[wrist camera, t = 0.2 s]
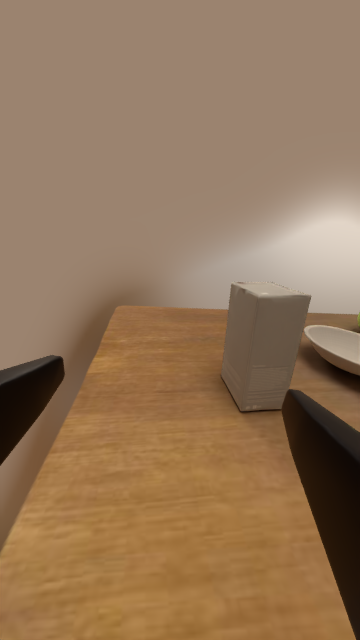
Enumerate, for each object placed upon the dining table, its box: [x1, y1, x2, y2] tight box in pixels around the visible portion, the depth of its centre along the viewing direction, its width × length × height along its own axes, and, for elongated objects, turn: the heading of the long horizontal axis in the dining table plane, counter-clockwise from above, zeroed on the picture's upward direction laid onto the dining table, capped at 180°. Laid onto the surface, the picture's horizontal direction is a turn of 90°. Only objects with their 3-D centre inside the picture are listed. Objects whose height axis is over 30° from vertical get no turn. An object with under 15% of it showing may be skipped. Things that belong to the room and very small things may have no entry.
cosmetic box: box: [221, 282, 311, 411], centre depth 29 cm, size 8×7×16 cm
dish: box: [304, 325, 360, 376], centre depth 39 cm, size 18×14×5 cm
